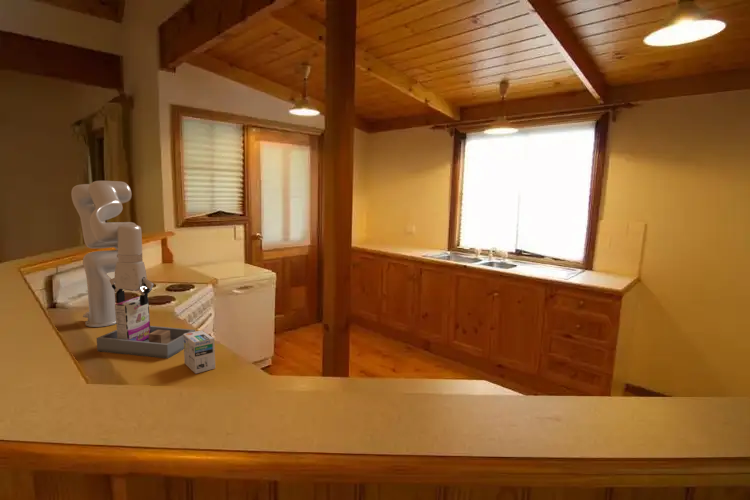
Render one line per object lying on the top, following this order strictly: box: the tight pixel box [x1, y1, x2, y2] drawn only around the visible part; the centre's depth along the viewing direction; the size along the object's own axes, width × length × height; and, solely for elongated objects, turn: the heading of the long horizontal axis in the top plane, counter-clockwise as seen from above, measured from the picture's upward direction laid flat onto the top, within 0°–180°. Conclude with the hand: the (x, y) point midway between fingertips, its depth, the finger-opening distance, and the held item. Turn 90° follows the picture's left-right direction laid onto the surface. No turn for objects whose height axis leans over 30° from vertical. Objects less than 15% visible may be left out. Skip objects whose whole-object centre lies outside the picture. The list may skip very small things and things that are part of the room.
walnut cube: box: [149, 330, 171, 344], centre depth 145 cm, size 5×5×5 cm
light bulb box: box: [183, 329, 216, 374], centre depth 131 cm, size 11×7×11 cm, turn 44°
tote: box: [96, 325, 196, 360], centre depth 146 cm, size 28×16×5 cm, turn 81°
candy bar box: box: [115, 296, 151, 341], centre depth 146 cm, size 11×5×16 cm, turn 170°
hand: (132, 303), depth 146 cm, fingers open, 9 cm apart
